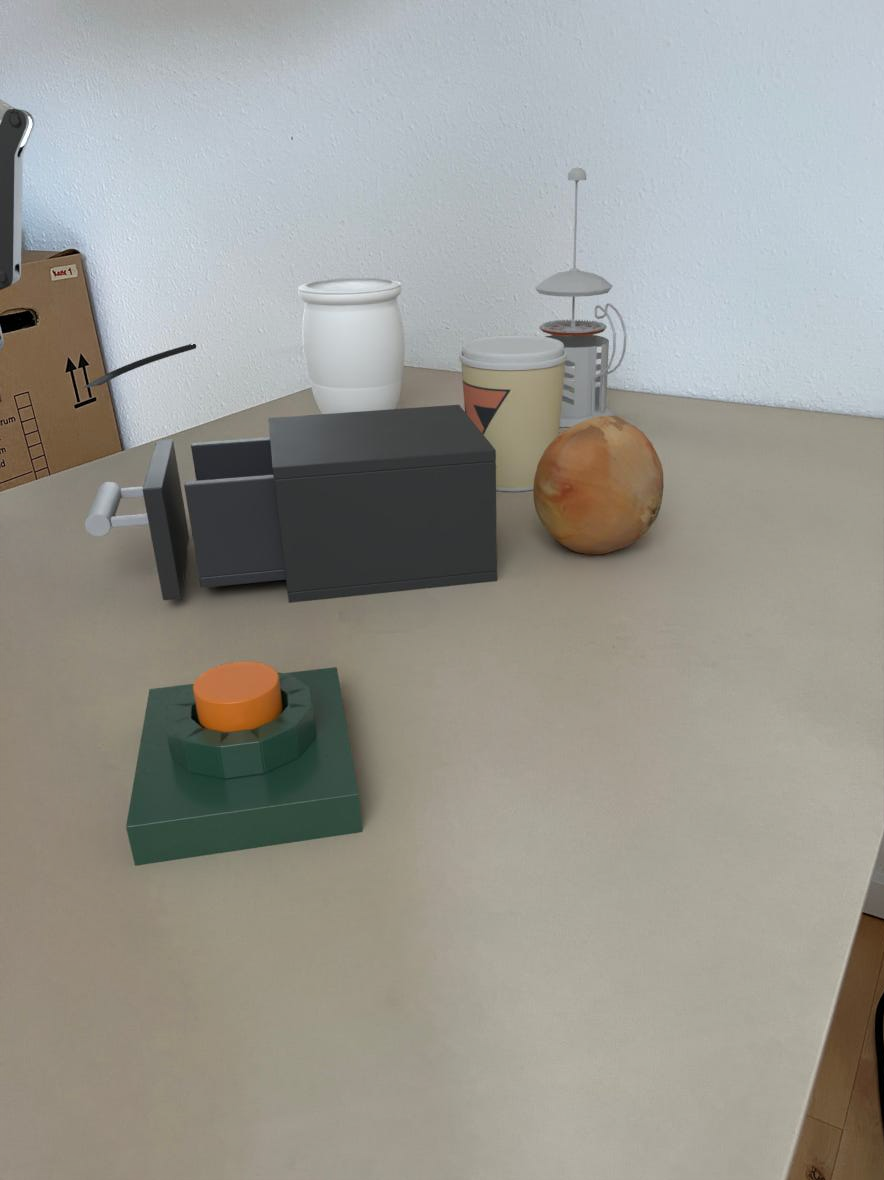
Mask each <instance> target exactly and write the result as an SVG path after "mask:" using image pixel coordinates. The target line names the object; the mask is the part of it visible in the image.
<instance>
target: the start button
mask: <svg viewBox="0 0 884 1180" xmlns="http://www.w3.org/2000/svg"><path fill="white" fill-rule="evenodd" d="M277 672H278V671H277V670H276V669H275V668H274V667H273V666H271V665H269V664H266V663H264V662H260V661H254V660H253V661H251V660H242V661H232V662H227V663H223V664H219V665H217V666H214V667H212V668H210V669H208V670H206V671H204V672H203V673H201V674H200V675H199V676H198V677H197V678H196V679H195V680H194V683H193V684H194V685H193V692H194V698H195V703H196V709H197V714H198V719H199V722H200V724H201V725H202V726H203V727H204V728H206V729H210V730H216V731H222V732H232V731H240V730H248V729H254V728H256V727H259V726H261V725H263V724H266V723H268V722H270V721H273V720H275V719H276V718H277V717H278V716H279V715H280V714H281V711H282V707H283V705H282V697H281V690H280V682H279V675H278V673H279V672H278V673H277Z"/></svg>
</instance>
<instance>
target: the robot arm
mask: <svg viewBox="0 0 884 1180" xmlns="http://www.w3.org/2000/svg"><path fill="white" fill-rule="evenodd" d="M34 129H35V119H34V117H33V115H32V114H31V113H30V112H29V111H27V110H25V109H19V108H15V107H14V106H12V105H10V104H8V103H7V102H6V101H4V100H2V99H0V291H2V290H4V289H6V288H8V287H11V286H12V285H15V284H16V283H17V282H18V281H19V280H20V279H21V275H22V231H23V230H22V228H23V172H24V171H23V169H24V166H23V165H24V153H25V150H26V148H27V145H28V143H29V140H30V138H31V136H32V133H33V131H34ZM4 342H5V339H4V335H3V331H2V327H1V325H0V352H1V351H2V350H3V348H4V344H5V343H4ZM191 344H192V343H189V344H186V345H182V346H179V347H175V348H172V349H169V350H166V351H162V352H159V353H156V354H153V355H149V356H147V357H145V358H141V359H139V360H136V361H133V362H130V363H128V364H125V365H123V366H121V367H119V368H117V369H114V370H112V371H109V372H108V373H106V374H104V375H102V376H99V377H98V378H97V379H95V380H93V381H91V382H90V383H88V384H86V385H85V386H83V387H82V389H87V388H91V387H97V386H102V385H103V384H106V383H108V382H109V381H111V380H113V379H115V378H117V377H119V376H122V375H123V374H126V373H128V372H130V371H134V370H136V369H138V368H140V367H142V366H145V365H148V364H151V363H155V362H157V361H160V360H163V359H166V358H170V357H172V356H176V355H178V354H181V353H186V352H189V351H192V350H195V349H197V344H196V343H195V344H193V345H191ZM2 402H3V400H2V395H0V404H1V403H2Z"/></svg>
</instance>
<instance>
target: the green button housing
mask: <svg viewBox="0 0 884 1180" xmlns="http://www.w3.org/2000/svg"><path fill="white" fill-rule="evenodd" d="M277 673H278V675H279V682H280V690H281V697H282V705H283V707H282V711H281V714H280V715H279V716H278V717H277V718H276V719H275V720H273V721H270V722H268V723H266V724H263V725H261V726H259V727H256V728H254V729H248V730H240V731H232V732H222V731H216V730H210V729H206V728H204V727H203V726H202V725H201V724H200V722H199V719H198V714H197V709H196V703H195V698H194V692H193V685H194V683H190V684H181V685H172V686H163V687H156V688H155V687H153V688H149V690H148V695H147V701H146V707H145V713H144V717H143V725H142V731H141V737H140V742H139V749H138V754H137V760H136V766H135V771H134V777H133V784H132V790H131V795H130V800H129V801H130V802H129V807H128V813H127V819H126V825H125V829H126V833H127V838H128V842H129V846H130V850H131V854H132V859H133V863H134V864H133V865H134V866H136V867H137V866H143V865H149V864H156V863H157V864H158V863H163V862H171V861H177V860H183V859H190V858H198V857H204V856H212V855H217V854H225V853H231V852H239V851H244V850H251V849H257V848H258V849H259V848H265V847H271V846H277V845H278V846H279V845H285V844H292V843H298V842H305V841H313V840H317V839H318V840H319V839H325V838H332V837H337V836H345V835H352V834H359V833H363V823H362V810H361V800H360V793H359V792H360V791H359V786H358V781H357V775H356V769H355V764H354V757H353V752H352V747H351V741H350V735H349V729H348V724H347V718H346V712H345V707H344V700H343V695H342V690H341V684H340V679H339V672H338V667H337V666H334V667H326V668H318V669H317V668H316V669H309V670H308V669H307V670H301V671H300V670H299V671H291V672H278V671H277Z"/></svg>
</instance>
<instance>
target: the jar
mask: <svg viewBox="0 0 884 1180" xmlns="http://www.w3.org/2000/svg"><path fill="white" fill-rule="evenodd" d="M401 285H402V283H401V282H399V281H397V280H393V279H387V278H380V277H379V278H378V277H344V278H343V277H342V278H331V279H321V280H316V281H311V282H306V283H303V284H300V285H298V286H297V287H296V288H297V295H298V297H299V299H300V300H302V301H303V303H304V306H303V311H302V320H301V321H302V322H301V342H302V343H301V344H302V351H303V358H304V363H305V367H306V371H307V374H308V377H309V381H310V388H311V391H312V394H313V395H312V396H313V397H314V401H315V402H316V405H317V407H318V409H319V411H320V414H333V413H347V412H361V411H375V410H390V409H397V407H398V404H399V401H400V398H401V393H402V387H403V374H404V366H405V353H406V349H405V348H406V346H405V332H404V325H403V318H402V315H401V310H400V308H399V307H400V306H399V304H398V301H397V300H398V299H397V298H398V297H399V296H400V295H401V293H402V286H401Z"/></svg>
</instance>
